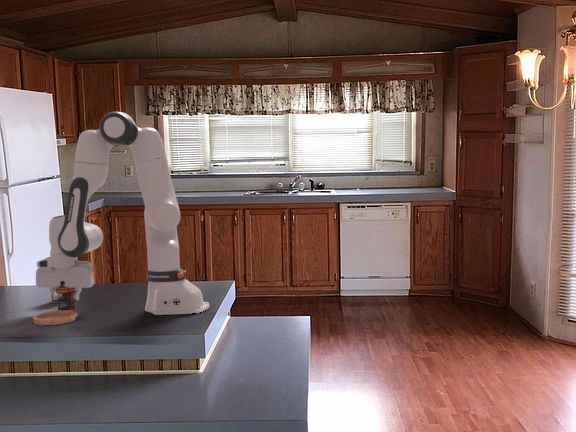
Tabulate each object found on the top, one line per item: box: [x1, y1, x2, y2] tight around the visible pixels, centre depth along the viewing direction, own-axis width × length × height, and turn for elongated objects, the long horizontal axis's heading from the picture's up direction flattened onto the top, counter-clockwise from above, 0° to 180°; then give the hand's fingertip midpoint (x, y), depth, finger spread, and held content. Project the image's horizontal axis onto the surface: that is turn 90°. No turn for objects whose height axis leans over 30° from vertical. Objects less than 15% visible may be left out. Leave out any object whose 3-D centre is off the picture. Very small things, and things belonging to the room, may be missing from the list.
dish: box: [32, 309, 78, 326], centre depth 202 cm, size 13×13×2 cm
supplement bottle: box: [56, 281, 76, 312], centre depth 213 cm, size 6×6×11 cm
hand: (66, 300), depth 213 cm, fingers closed on supplement bottle, 6 cm apart
